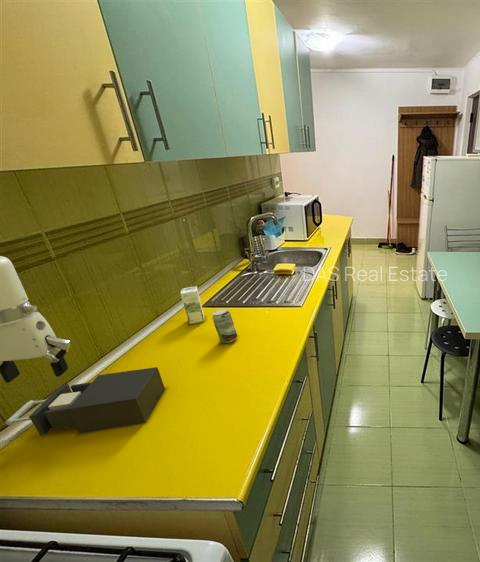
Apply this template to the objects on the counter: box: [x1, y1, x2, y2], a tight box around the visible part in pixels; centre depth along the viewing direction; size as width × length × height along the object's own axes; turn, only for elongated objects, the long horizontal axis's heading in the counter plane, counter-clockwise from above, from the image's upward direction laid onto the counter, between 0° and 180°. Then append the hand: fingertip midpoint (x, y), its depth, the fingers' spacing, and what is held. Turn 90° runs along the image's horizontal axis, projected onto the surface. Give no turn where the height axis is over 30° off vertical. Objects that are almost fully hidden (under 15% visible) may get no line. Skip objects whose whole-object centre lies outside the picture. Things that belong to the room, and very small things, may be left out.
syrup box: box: [180, 285, 205, 325], centre depth 125 cm, size 6×6×14 cm
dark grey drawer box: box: [67, 366, 166, 435], centre depth 81 cm, size 15×13×8 cm
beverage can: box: [211, 308, 238, 344], centre depth 112 cm, size 6×7×12 cm
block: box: [48, 391, 82, 410], centre depth 79 cm, size 4×4×4 cm
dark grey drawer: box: [4, 381, 93, 436], centre depth 79 cm, size 21×11×6 cm, turn 103°
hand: (38, 375), depth 73 cm, fingers open, 9 cm apart
